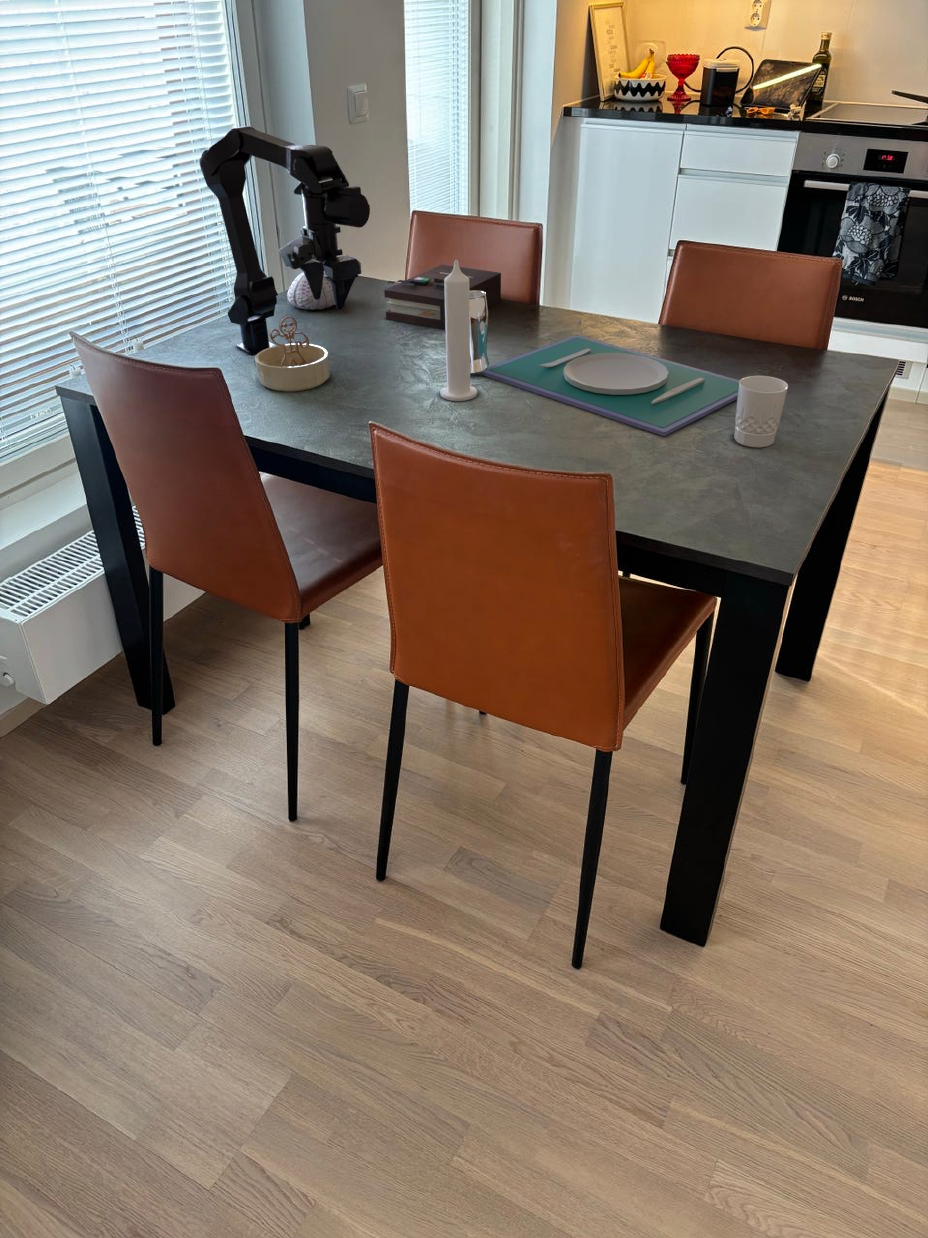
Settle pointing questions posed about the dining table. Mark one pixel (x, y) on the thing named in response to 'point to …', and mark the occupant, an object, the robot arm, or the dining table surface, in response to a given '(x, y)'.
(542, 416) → the dining table surface
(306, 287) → the sea urchin shell
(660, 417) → the place mat
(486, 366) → the beer glass
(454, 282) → the candle
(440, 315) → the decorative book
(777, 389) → the white cup
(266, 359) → the bowl
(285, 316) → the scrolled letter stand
